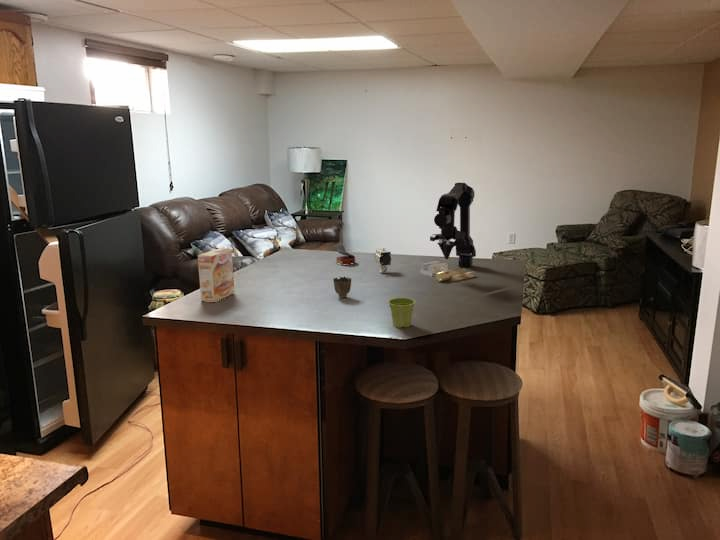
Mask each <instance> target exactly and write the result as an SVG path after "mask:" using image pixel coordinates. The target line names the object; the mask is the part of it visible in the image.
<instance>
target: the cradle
mask: <svg viewBox="0 0 720 540" xmlns="http://www.w3.org/2000/svg"><path fill="white" fill-rule="evenodd" d="M448 267H449V266H448V263H447V262H442V263H441V262H440V261H439V260H438V261H437V260H433V261H427V262H424V263H420V268H419V269H420V271H419V273H420V274H421V275H425V276H429V277H435V274H436V273H440V272H444V271H449V269H448Z"/></svg>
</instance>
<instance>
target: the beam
mask: <svg viewBox="0 0 720 540" xmlns="http://www.w3.org/2000/svg"><path fill="white" fill-rule="evenodd" d="M475 274H476V271H468V272H467V271H466V273H462V274H458V275H453V276H451V279H450V280H448V281H449V282H456V281H457V282H458V281H461V280H465V279H470V278H474V277H476V276H475Z"/></svg>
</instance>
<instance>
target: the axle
mask: <svg viewBox="0 0 720 540" xmlns="http://www.w3.org/2000/svg"><path fill="white" fill-rule="evenodd" d="M462 273H467V270H466V268H461V267H458V268H456V269H455V268H454V269H448V271H444V272H440V273H436V274H435V276H434V280H435V281H436V282H437V283H440V282H445V281H449V280H450V279H451V276H453V275H458V274H462Z"/></svg>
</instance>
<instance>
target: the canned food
mask: <svg viewBox="0 0 720 540" xmlns="http://www.w3.org/2000/svg"><path fill="white" fill-rule="evenodd" d="M336 252H337V253H338V254H340V255H341V256H337V257H336V264H337V263H340V264H351V263H355V264H356V256H355V255H353V254H351V253H349V252H347V251H345V250H343V249H341V248H337V249H336Z"/></svg>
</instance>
